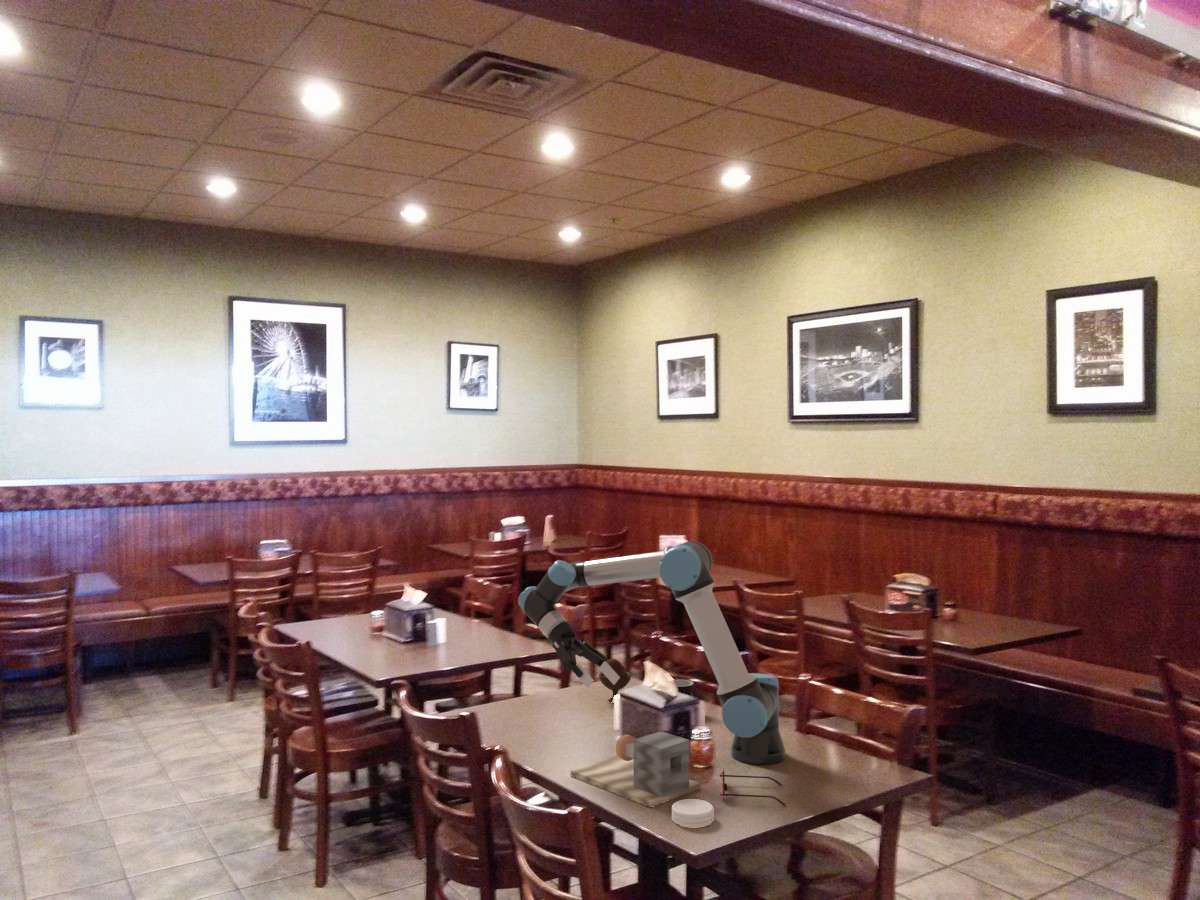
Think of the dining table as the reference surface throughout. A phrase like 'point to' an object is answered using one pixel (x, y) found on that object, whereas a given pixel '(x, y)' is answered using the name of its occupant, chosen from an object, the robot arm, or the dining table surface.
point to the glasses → (745, 795)
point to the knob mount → (645, 770)
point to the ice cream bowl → (620, 672)
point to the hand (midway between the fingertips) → (604, 682)
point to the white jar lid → (692, 812)
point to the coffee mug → (685, 686)
